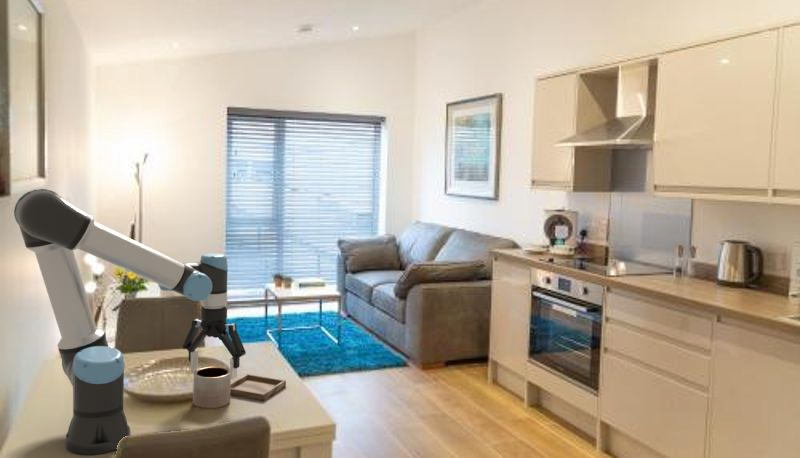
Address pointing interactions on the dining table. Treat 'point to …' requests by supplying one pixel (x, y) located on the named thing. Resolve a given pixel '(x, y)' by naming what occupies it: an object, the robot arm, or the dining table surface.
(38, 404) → the dining table surface
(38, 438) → the dining table surface
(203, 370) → the planter
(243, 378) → the tray
